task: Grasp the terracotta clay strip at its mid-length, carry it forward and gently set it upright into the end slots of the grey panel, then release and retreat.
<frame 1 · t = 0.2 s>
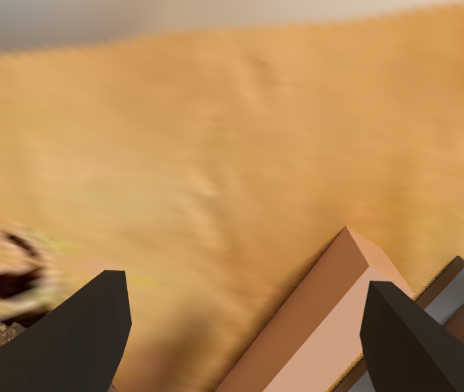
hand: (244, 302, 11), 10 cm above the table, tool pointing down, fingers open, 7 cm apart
clay strip: (282, 333, 24), on the table
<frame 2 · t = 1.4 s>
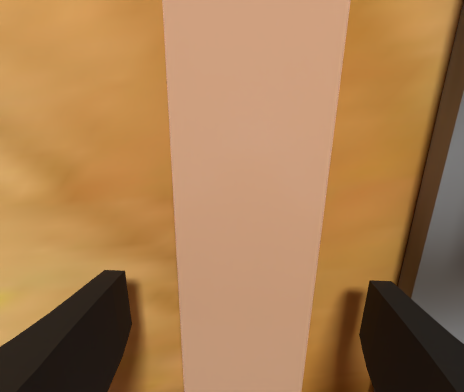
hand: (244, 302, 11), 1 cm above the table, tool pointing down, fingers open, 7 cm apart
clay strip: (246, 269, 13), on the table
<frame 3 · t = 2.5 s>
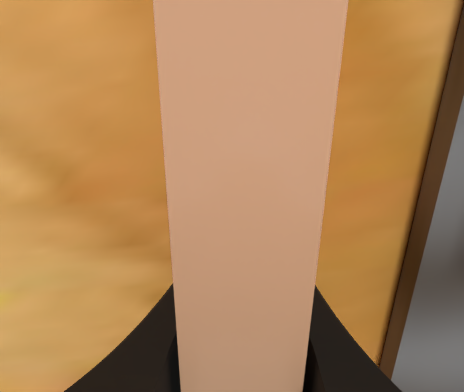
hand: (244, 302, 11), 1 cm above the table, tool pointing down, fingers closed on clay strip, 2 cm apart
clay strip: (245, 273, 13), on the table, touching gripper
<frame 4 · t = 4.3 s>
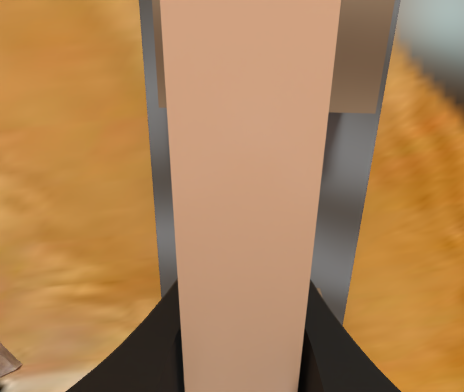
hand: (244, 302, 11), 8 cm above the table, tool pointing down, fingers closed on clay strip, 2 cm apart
clay strip: (245, 267, 13), point 6 cm above the table, touching gripper
grey panel: (257, 190, 19), on the table
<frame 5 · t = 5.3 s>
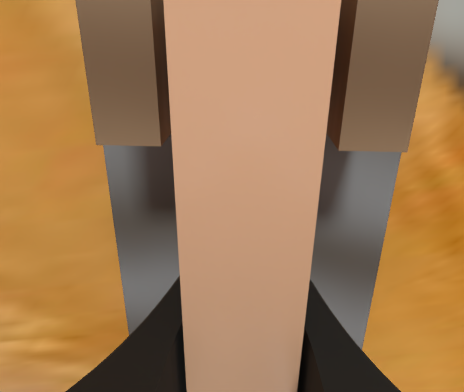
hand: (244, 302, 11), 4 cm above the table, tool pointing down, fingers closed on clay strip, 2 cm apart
clay strip: (245, 265, 13), point 2 cm above the table, touching gripper
grey panel: (247, 232, 15), on the table
when the fingers open (4 cm above the table, at t = 6.1 s): clay strip stays where it is, resting on grey panel.
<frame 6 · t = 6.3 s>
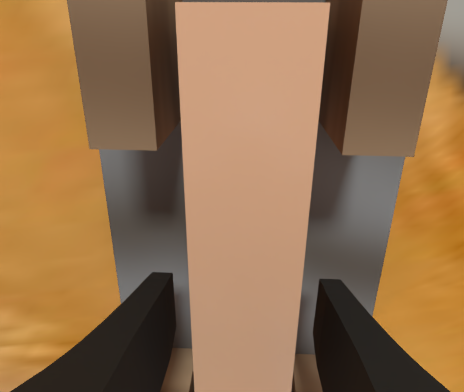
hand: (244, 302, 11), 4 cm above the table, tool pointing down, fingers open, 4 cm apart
clay strip: (246, 253, 14), point 1 cm above the table, touching grey panel
grey panel: (247, 236, 15), on the table
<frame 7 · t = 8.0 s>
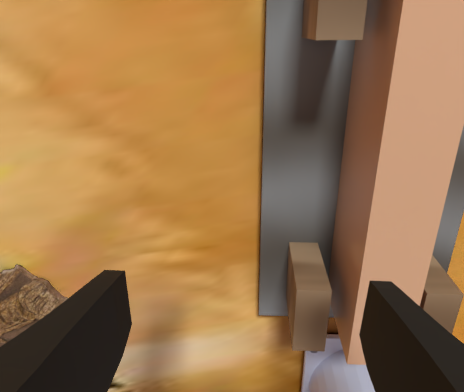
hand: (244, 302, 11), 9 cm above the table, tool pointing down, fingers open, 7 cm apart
clay strip: (369, 155, 18), point 1 cm above the table, touching grey panel
grey panel: (363, 145, 19), on the table
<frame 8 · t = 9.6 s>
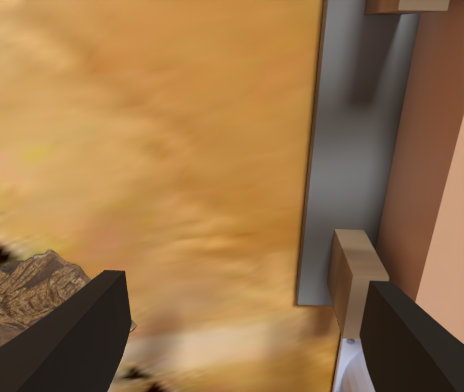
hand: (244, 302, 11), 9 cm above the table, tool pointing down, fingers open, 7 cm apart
clay strip: (424, 139, 17), point 1 cm above the table, touching grey panel
grey panel: (416, 130, 18), on the table
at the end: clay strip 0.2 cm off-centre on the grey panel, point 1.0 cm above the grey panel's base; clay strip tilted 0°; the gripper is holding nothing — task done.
